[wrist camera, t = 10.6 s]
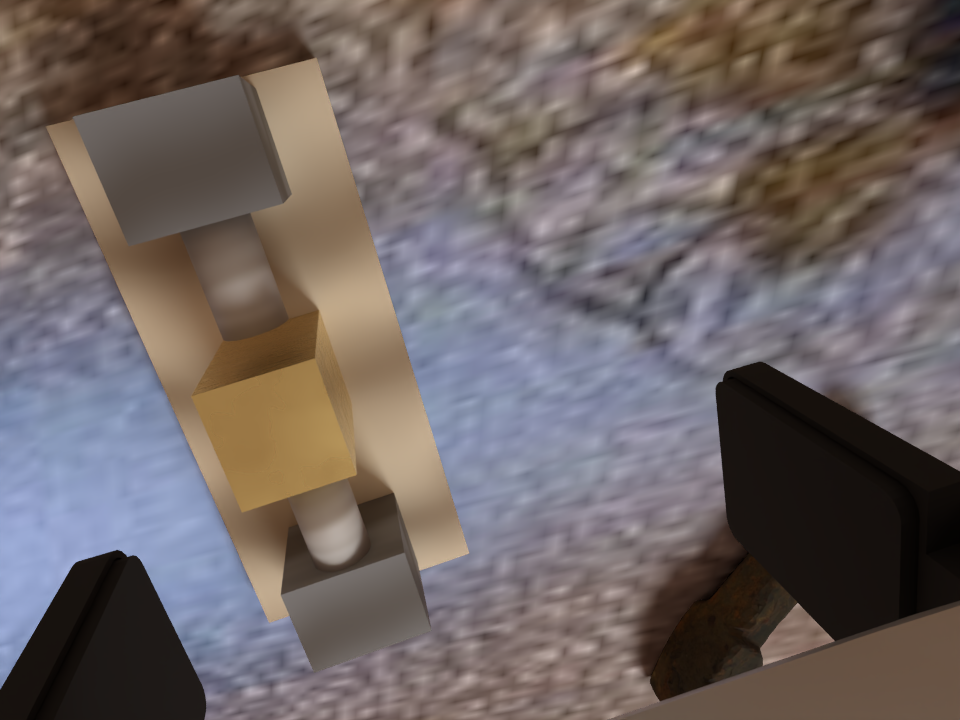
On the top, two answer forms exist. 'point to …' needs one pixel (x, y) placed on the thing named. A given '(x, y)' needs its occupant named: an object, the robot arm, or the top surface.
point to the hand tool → (722, 632)
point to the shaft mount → (265, 306)
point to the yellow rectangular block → (278, 412)
